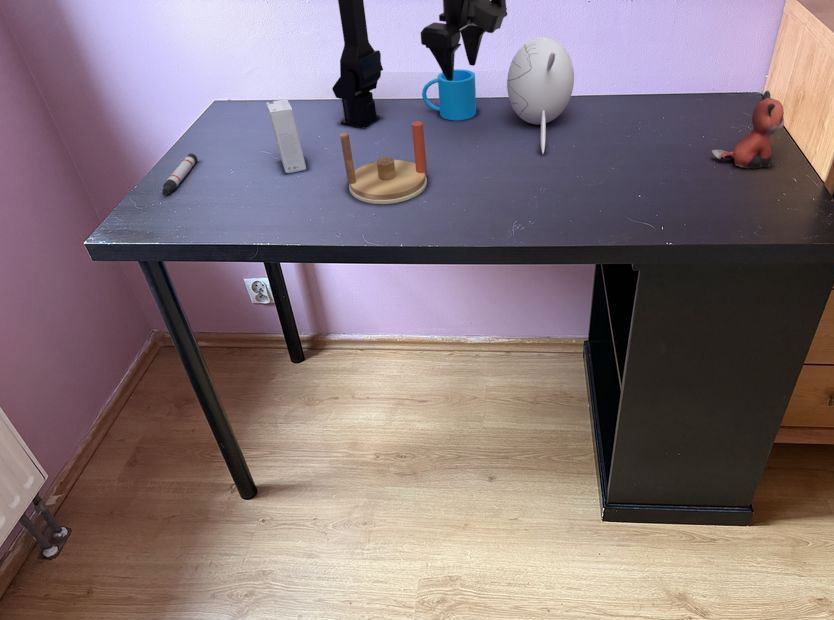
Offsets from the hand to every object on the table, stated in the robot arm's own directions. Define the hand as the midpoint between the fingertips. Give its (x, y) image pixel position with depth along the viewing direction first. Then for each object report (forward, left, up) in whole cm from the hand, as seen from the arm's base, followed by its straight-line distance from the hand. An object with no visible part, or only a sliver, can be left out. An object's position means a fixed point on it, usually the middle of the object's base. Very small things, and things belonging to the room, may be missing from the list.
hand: (461, 72), depth 126 cm
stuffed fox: (+52, +14, -14) cm, 56 cm away
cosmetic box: (-26, -23, -14) cm, 38 cm away
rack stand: (-4, -22, -14) cm, 26 cm away
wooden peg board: (-4, -22, -13) cm, 26 cm away
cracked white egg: (+11, +13, -14) cm, 22 cm away
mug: (-11, +13, -14) cm, 22 cm away
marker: (-42, -37, -14) cm, 58 cm away
